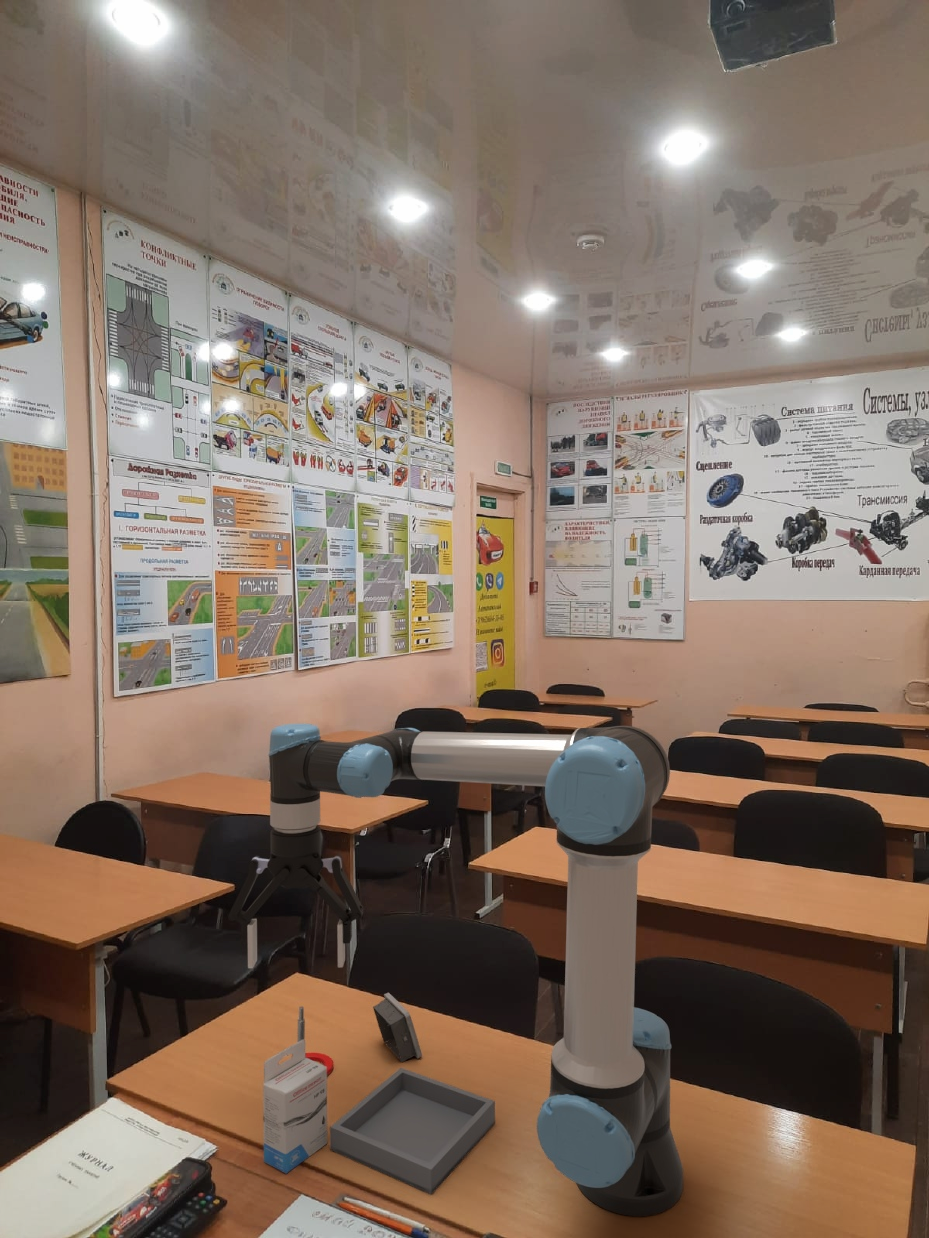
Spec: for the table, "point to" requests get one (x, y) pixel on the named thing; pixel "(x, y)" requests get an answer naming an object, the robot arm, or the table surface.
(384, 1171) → the tray
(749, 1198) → the table surface
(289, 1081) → the ink box
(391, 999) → the electrical switch
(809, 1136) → the table surface
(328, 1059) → the tow hook
